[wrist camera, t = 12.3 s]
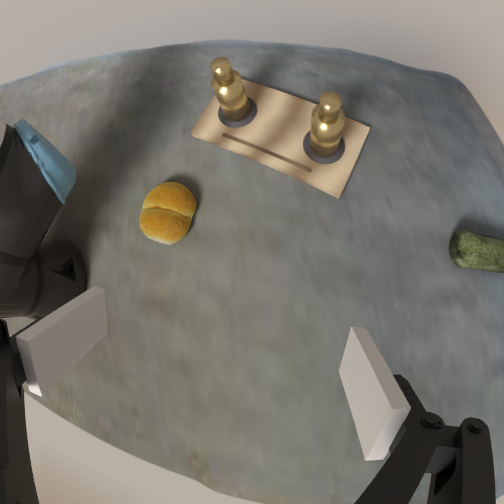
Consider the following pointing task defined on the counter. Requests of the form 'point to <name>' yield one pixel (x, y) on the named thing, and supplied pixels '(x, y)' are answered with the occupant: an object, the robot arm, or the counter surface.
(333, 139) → the brass bottle
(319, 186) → the board
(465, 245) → the vegetable
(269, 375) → the counter surface
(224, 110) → the gold bottle
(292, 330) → the counter surface
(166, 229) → the bread roll
